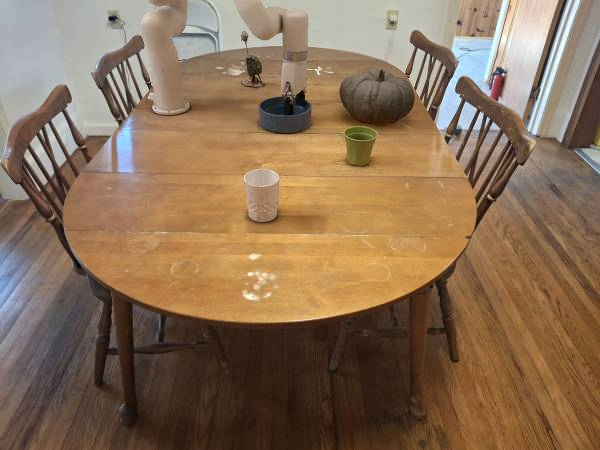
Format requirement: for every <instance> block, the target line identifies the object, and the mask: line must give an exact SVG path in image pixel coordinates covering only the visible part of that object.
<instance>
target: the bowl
mask: <svg viewBox="0 0 600 450" xmlns="http://www.w3.org/2000/svg"><path fill="white" fill-rule="evenodd" d="M287 97H289V99H290V98H291V96H287ZM293 104H294V115H290V116H288V115H284V103H283V99H282V95H280V96H272V97H268V98H266V99H262V100H261V101H260V102H259V103H258V105H257V107H258V108H257V109H258V110H257V111H258V124H259V126H260V127H261V128H263V129H264V130H267V131H270V132H273V133H274V132H275V133H283V134H285V133H286V134H287V133H289V134H290V133H296V132H301V131H303V130H306V129H308V128H309V127H310V126H311V125H312V120H313V105H312V103H311V102H310V101H308V100H307V99H305V106H298V105H296V96H294V99H293Z"/></svg>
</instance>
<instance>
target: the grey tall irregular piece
mask: <svg viewBox="0 0 600 450" xmlns="http://www.w3.org/2000/svg"><path fill="white" fill-rule="evenodd" d="M240 37H241V39H240V41H241V42H242V41H243V42H244V44H245V48H246V53H247V56H246V58H245V65H246V71H247V74H248V77H246V78H245V79H242V80H241V81H240V83H241V84H242V85H244V86H248V87H254V88H259V87H263V86H265V84H266V83H265V82H263V80H262V78H261V75H260V74H262V73H263V64H262V61H261V60H260V58H259V56H257V55H256V54H249V51H248V43H247V42H248V40H249V34H248V32H247V31H246V30H243V31H242V32H241V35H240ZM256 75H257V76H256Z"/></svg>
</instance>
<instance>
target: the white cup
mask: <svg viewBox="0 0 600 450" xmlns="http://www.w3.org/2000/svg"><path fill="white" fill-rule="evenodd" d="M243 182H244V183H243V184H244V191H245V199H246V200H245V201H246V205H247V212H248V217H249V218H250V219H251V220H252V221H255V222H258V223H266V222H267V223H268V222H271V221H273V220H275V218H276V217H277V216H278V205H279V194H280V174H278V173H277V172H276V171H274V170H272V169H268V168H258V169H252V170H250V171H248V172H246V173H245V174H244V176H243Z"/></svg>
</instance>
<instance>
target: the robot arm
mask: <svg viewBox="0 0 600 450" xmlns="http://www.w3.org/2000/svg"><path fill="white" fill-rule="evenodd" d="M147 1H148V3H149V4H150V5H152V6H155V7H157V8H154V9H152V10H149V11H148V12H146V13H145V14H144V15H143V16H142V18H141V20H140V22H139V23H140V24H139V31H140V34H141V37H142V39H143V40H142V41H143V42H144V46H145V49H146V53H147V58H148V63H149V70H150V75H151V81H152V87H153V92H149V94H148V96H147V100H148V101H152V102H153V104H152V106H151V107H152V108H151V109H152V111H153V112H154V113H156V114H158V115H160V116H161V115H162V116H175V115H180V114H183V113H185V112H187V111H189V110H190V108H191V106H190V102H189V101H187V100H186V99H185V95H184V94H185V93H184V86H183V79H182V72H181V64H180V58H179V53H178V49H177V47H176V44H175V43H174V38H176V37H178V36H179V35H181V34H183V32H184V31H185V29H186V27H187V21H188V5H189V3H188V2H189V0H147ZM233 3H234V6H235V8H236V10H237V12H238V14H239V17H240V18H241V19H242V21H243V23H244V24H245V26H246V27H247V28H248V30H249V32H250V33H251V34H252V35H253V36H254V37H255V38H257V39H258V40H260V41H269V40H271V39H273V38H274V37H275V36H276V35H280V34H282V66H281V74H280V76H281V77H280V79H281V80H280V94H281V95H280V96H282V99H283V103H284V115H288V116H290V115H294V104H293V99H294V97H296V105H298V106H305V100H306V93H307V90H306V88H307V83H308V82H307V81H308V77H307V76H308V72H307V70H308V69H307V67H308V66H307V62H308V53H309V52H308V51H309V49H308V48H309V14H308V12H306V10H304V9H295V8H293V9H287V8H283V7H279V6H274V5H273V6H267V7H265V5H264V4H263V2H262V0H233ZM287 96H291V98H290V99H289V97H287Z"/></svg>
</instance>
